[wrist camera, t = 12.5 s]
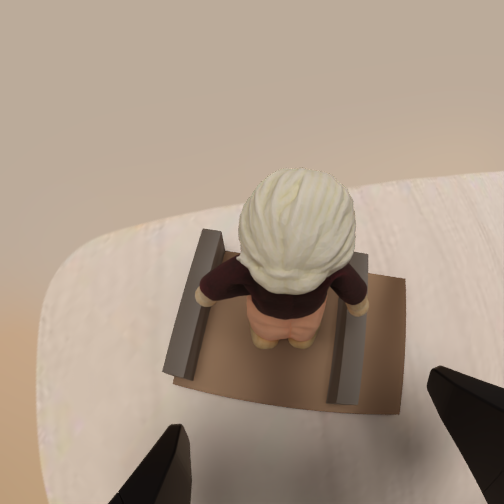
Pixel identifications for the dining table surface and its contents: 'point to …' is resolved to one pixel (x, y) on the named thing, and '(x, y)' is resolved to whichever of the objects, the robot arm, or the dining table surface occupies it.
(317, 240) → the grandmother figurine
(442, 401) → the robot arm
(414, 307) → the dining table surface
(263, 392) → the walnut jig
